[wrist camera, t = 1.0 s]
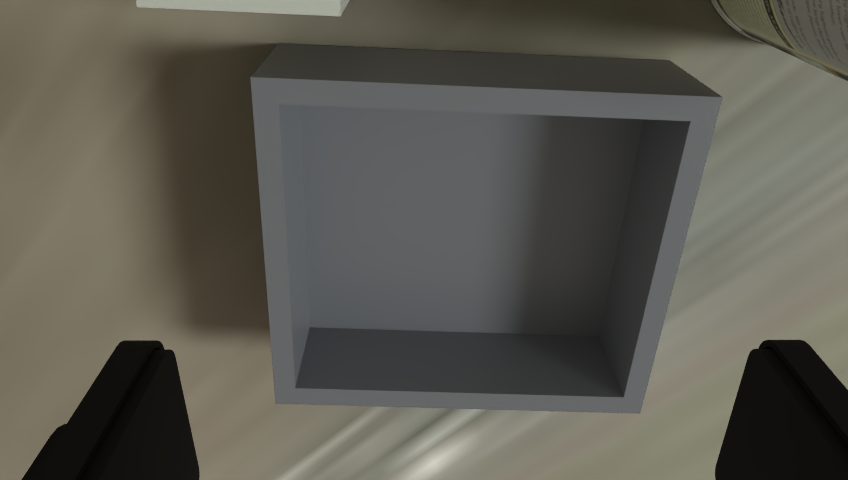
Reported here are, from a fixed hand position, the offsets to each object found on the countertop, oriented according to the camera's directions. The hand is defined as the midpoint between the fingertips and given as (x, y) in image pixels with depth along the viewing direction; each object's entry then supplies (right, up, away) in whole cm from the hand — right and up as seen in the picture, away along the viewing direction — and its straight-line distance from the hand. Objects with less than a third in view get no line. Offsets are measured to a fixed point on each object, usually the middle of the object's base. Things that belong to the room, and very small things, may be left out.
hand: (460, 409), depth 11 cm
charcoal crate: (+1, +4, +23) cm, 24 cm away
